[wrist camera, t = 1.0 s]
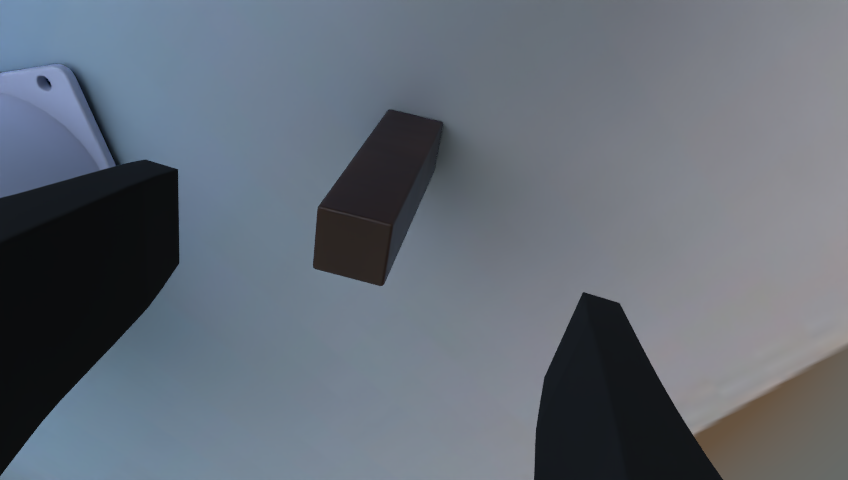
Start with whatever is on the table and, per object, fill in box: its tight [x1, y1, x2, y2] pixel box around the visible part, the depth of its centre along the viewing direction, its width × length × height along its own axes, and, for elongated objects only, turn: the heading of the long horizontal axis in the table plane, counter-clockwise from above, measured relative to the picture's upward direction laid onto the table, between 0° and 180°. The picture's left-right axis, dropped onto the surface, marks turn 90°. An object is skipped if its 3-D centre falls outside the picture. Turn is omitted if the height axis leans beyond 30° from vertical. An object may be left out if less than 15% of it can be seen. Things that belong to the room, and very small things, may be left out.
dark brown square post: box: [313, 110, 443, 286], centre depth 17 cm, size 2×2×6 cm
